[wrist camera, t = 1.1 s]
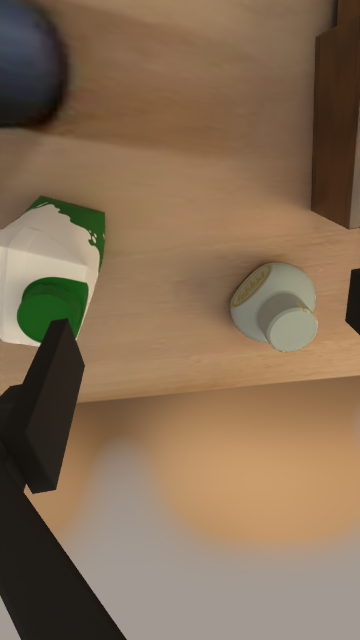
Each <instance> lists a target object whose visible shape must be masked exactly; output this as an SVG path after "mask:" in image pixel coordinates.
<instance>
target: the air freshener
mask: <svg viewBox="0 0 360 640" xmlns="http://www.w3.org/2000/svg"><path fill="white" fill-rule="evenodd" d="M315 302H316V293H315V288H314V285H313V283H312V281H311V279H310V278H309V276H308V275H307V274H306V273H305V272H304V271H303V270H301V269H300V268H298V267H296V266H294V265H291V264H287V263H268V264H265V265H263V266H261V267H260V268H258V269H257V270H255V271H254V272H253V273H252V274H251V275H250V276H249V277H248V278H247V279H246V280H245V281H244V282H243V283H242V284H241V285H240V287H239V288H238V289H237V291H236V292H235V294H234V296H233V298H232V300H231V307H230V310H231V316H232V319H233V321H234V323H235V325H236V327H237V328H238V329H239V330H240V331H241V332H242V333H243V334H244V335H246V336H247V337H249V338H251V339H253V340H256V341H260V342H269V344H270V345H271V346H272V347H273V348H274V349H277V350H278V351H281V352H282V351H285V352H293V351H297V350H299V349H301V348H303V347H305V346H306V345H307V344H309V343H310V342H311V341H312V339H313V338H314V336H315V335H316V332H317V329H318V322H317V318H316V316H315V315H314V313H313V311H314V308H315Z"/></svg>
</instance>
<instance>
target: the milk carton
mask: <svg viewBox="0 0 360 640" xmlns="http://www.w3.org/2000/svg"><path fill="white" fill-rule="evenodd" d="M104 243H105V213H104V212H100V211H96V210H93V209H89V208H85V207H81V206H78V205H74V204H70V203H67V202H63V201H59V200H55V199H52V198H48V197H44V196H40V197H39V198H38V199H37V200H36V201H35V202H34V203H33V204H32V205H31V206H30V207H29V208H28V209H27V210H26V211H25V212H24V213H23V214H22V215H21V216H20V217H19V218H17V219H16V220H15V221H13V222H12V223H11V224H9V225H8V226H7V227H5V228H4V229H2V230H0V339H2V341H4V342H9V343H15V344H18V343H19V344H25V345H31V346H37V347H39V346H40V344H41V342H42V340H43V337H44V335H45V333H46V331H47V329H48V327H49V324H50V322H51V321H53V320H58V319H64V318H68V319H69V322H70V325H71V328H72V331H73V334H74V336H75V339H76V340H77V337H78V334H79V332H80V329H81V326H82V323H83V320H84V318H85V315H86V312H87V309H88V307H89V304H90V300H91V298H92V295H93V291H94V288H95V285H96V281H97V278H98V274H99V271H100V267H101V264H102V259H103V251H104Z"/></svg>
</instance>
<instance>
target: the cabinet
mask: <svg viewBox="0 0 360 640" xmlns="http://www.w3.org/2000/svg"><path fill="white" fill-rule="evenodd" d="M311 211H313V212H315V213H317V214H319V215H321V216H323V217H325V218H327V219H329V220H331V221H333V222H335V223H337V224H339V225H341V226H343V227H345V228H347V229H349V230H350V229H355V228H360V15H358V16H356V17H354V18H352V19H350V20H348V21H346V22H344V23H342V24H340V25H338V26H336V27H334V28H332V29H330V30H328V31H326V32H324V33H322V34H321V35H318V36H317V37H316V54H315V92H314V130H313V167H312V205H311Z"/></svg>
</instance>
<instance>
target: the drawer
mask: <svg viewBox="0 0 360 640" xmlns="http://www.w3.org/2000/svg"><path fill="white" fill-rule="evenodd" d="M358 15H360V0H338V14H337V26H338V25H340V24H342V23H344V22H346V21H348V20H350V19H352V18H354V17H356V16H358Z"/></svg>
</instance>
